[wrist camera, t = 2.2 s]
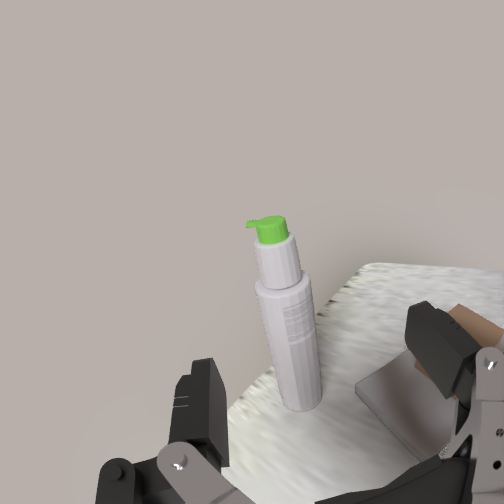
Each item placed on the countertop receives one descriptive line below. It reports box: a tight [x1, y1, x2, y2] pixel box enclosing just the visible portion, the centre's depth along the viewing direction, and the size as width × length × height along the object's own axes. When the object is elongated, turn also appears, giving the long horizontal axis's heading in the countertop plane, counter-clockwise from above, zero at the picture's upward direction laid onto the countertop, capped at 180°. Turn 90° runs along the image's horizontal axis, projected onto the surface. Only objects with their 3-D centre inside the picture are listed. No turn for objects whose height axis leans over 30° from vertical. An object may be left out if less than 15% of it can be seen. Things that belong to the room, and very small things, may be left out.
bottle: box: [246, 216, 322, 412], centre depth 24 cm, size 4×4×20 cm
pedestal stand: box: [355, 304, 504, 462], centre depth 22 cm, size 20×12×6 cm, turn 111°
